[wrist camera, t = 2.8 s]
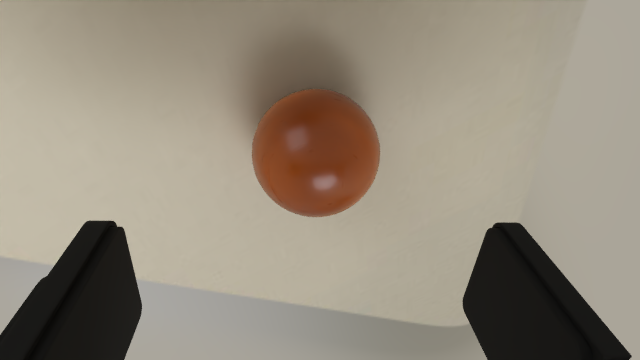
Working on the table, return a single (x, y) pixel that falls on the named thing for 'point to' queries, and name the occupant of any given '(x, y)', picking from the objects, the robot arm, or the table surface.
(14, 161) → the table surface
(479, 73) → the table surface
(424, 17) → the table surface
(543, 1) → the table surface
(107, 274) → the robot arm
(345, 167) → the ball
